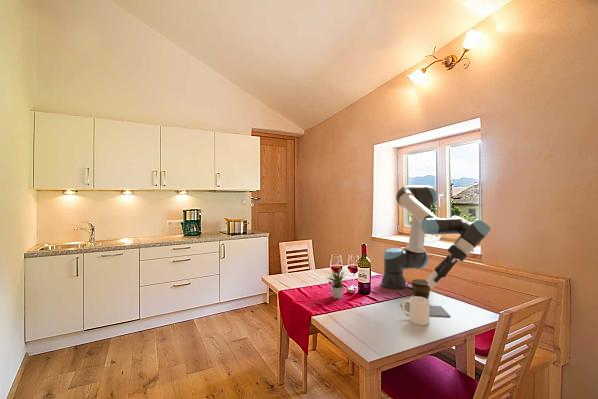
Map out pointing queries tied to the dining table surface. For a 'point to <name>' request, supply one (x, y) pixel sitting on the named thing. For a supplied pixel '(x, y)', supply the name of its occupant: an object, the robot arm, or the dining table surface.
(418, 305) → the cup
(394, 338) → the dining table surface
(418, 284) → the ceramic cup
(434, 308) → the mat
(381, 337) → the dining table surface
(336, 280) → the house plant
